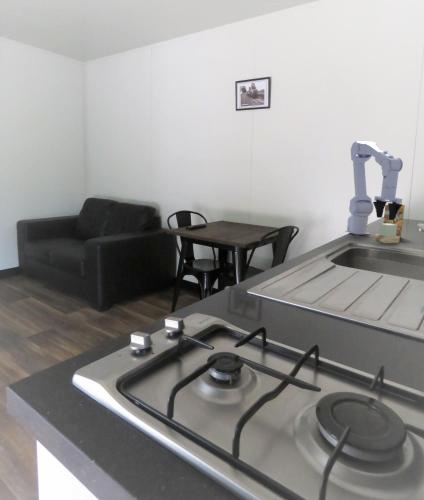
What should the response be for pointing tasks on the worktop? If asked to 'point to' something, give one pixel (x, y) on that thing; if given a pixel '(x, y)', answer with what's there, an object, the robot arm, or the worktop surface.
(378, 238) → the beech block
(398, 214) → the candy box
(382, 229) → the sage cube
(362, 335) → the worktop surface
